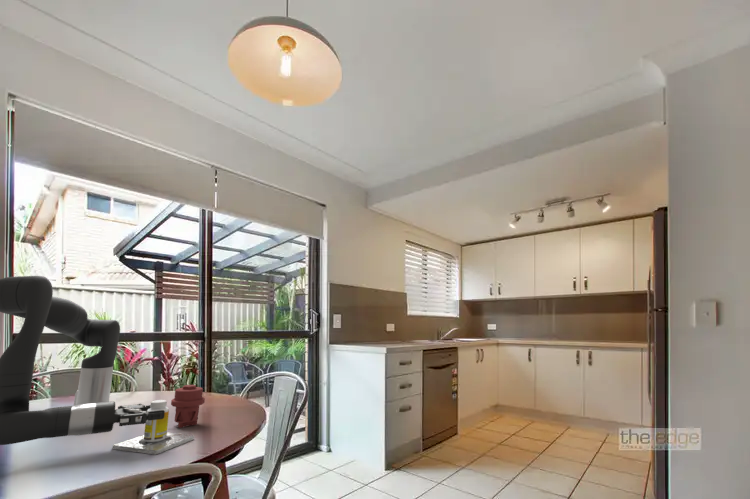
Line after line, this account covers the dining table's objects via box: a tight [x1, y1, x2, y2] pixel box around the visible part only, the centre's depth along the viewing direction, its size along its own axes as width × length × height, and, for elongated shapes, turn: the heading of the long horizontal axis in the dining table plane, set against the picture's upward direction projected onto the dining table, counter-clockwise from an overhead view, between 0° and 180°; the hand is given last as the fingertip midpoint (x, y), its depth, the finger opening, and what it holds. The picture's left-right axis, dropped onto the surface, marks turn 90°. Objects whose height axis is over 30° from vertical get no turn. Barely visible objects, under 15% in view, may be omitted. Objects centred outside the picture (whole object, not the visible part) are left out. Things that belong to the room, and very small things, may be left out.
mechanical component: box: [170, 384, 206, 429], centre depth 131 cm, size 12×10×10 cm
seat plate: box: [112, 432, 195, 456], centre depth 110 cm, size 14×14×1 cm
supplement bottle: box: [143, 399, 170, 442], centre depth 111 cm, size 6×6×10 cm
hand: (162, 411), depth 112 cm, fingers open, 8 cm apart
